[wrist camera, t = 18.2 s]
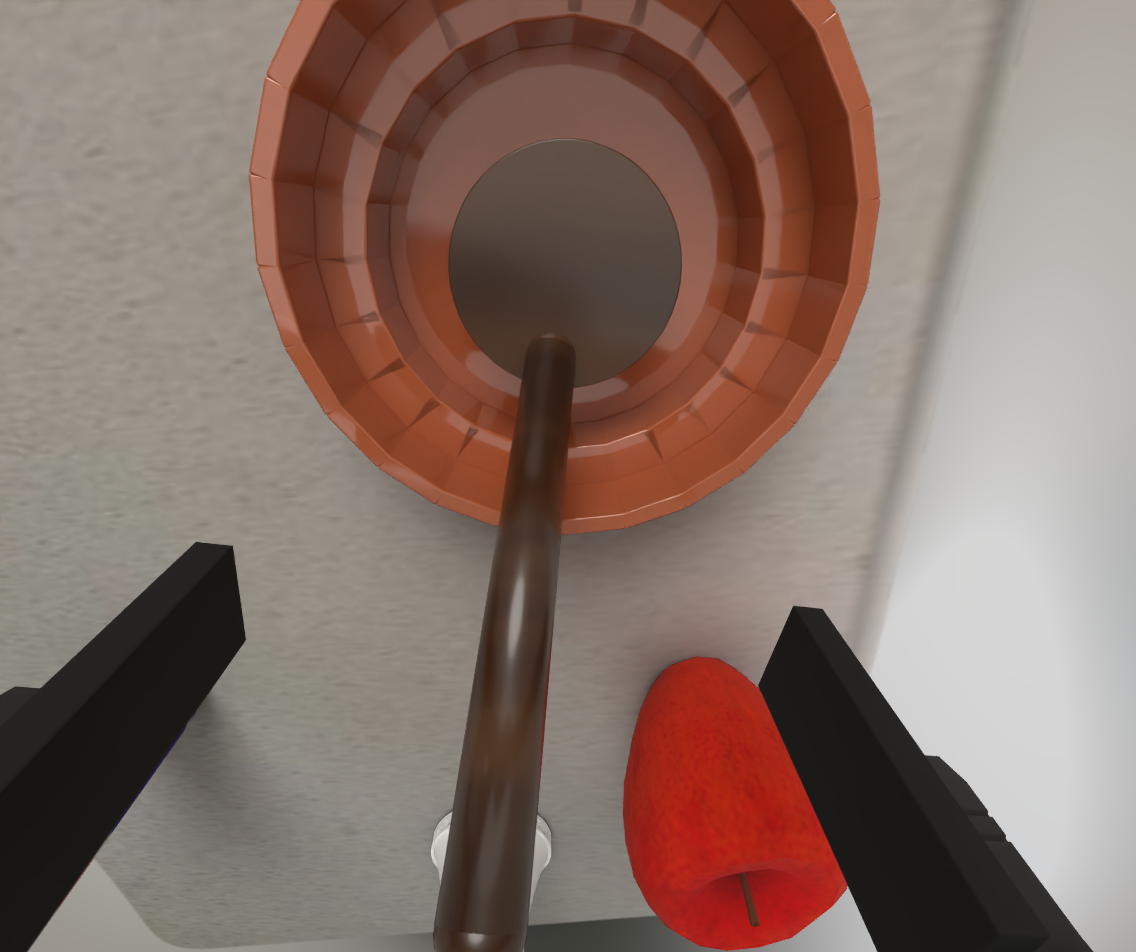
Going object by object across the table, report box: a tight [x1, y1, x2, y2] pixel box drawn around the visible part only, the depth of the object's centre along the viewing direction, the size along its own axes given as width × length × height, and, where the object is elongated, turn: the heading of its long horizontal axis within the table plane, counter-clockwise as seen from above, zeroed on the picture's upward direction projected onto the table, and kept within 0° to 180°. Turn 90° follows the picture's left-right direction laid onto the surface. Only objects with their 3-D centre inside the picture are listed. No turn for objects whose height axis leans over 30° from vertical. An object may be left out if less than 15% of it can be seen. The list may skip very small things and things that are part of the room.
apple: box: [623, 657, 848, 951], centre depth 24 cm, size 9×9×11 cm
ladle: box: [433, 138, 682, 952], centre depth 13 cm, size 14×7×16 cm, turn 169°
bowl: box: [249, 0, 880, 535], centre depth 17 cm, size 16×16×6 cm
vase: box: [431, 812, 551, 952], centre depth 30 cm, size 8×8×10 cm
